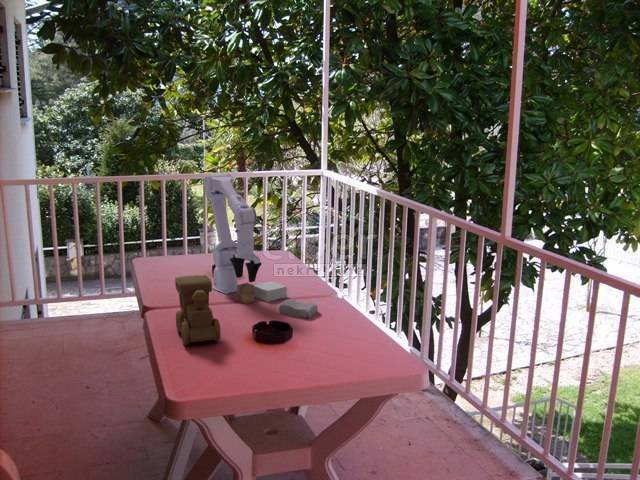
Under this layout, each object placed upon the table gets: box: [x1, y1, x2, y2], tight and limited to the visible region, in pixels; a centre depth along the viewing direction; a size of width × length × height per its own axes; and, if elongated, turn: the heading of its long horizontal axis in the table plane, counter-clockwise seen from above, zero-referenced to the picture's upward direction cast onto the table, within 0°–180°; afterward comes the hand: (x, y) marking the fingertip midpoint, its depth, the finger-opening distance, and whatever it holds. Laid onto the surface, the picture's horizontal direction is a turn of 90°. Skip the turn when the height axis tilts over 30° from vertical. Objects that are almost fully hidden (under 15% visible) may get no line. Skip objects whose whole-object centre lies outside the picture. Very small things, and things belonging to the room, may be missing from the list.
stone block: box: [278, 298, 319, 319], centre depth 226 cm, size 12×5×10 cm
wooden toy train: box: [174, 274, 221, 346], centre depth 201 cm, size 20×11×17 cm, turn 21°
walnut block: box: [236, 282, 256, 305], centre depth 236 cm, size 4×4×6 cm
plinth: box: [254, 280, 288, 303], centre depth 242 cm, size 9×9×4 cm
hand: (245, 279), depth 235 cm, fingers open, 7 cm apart
